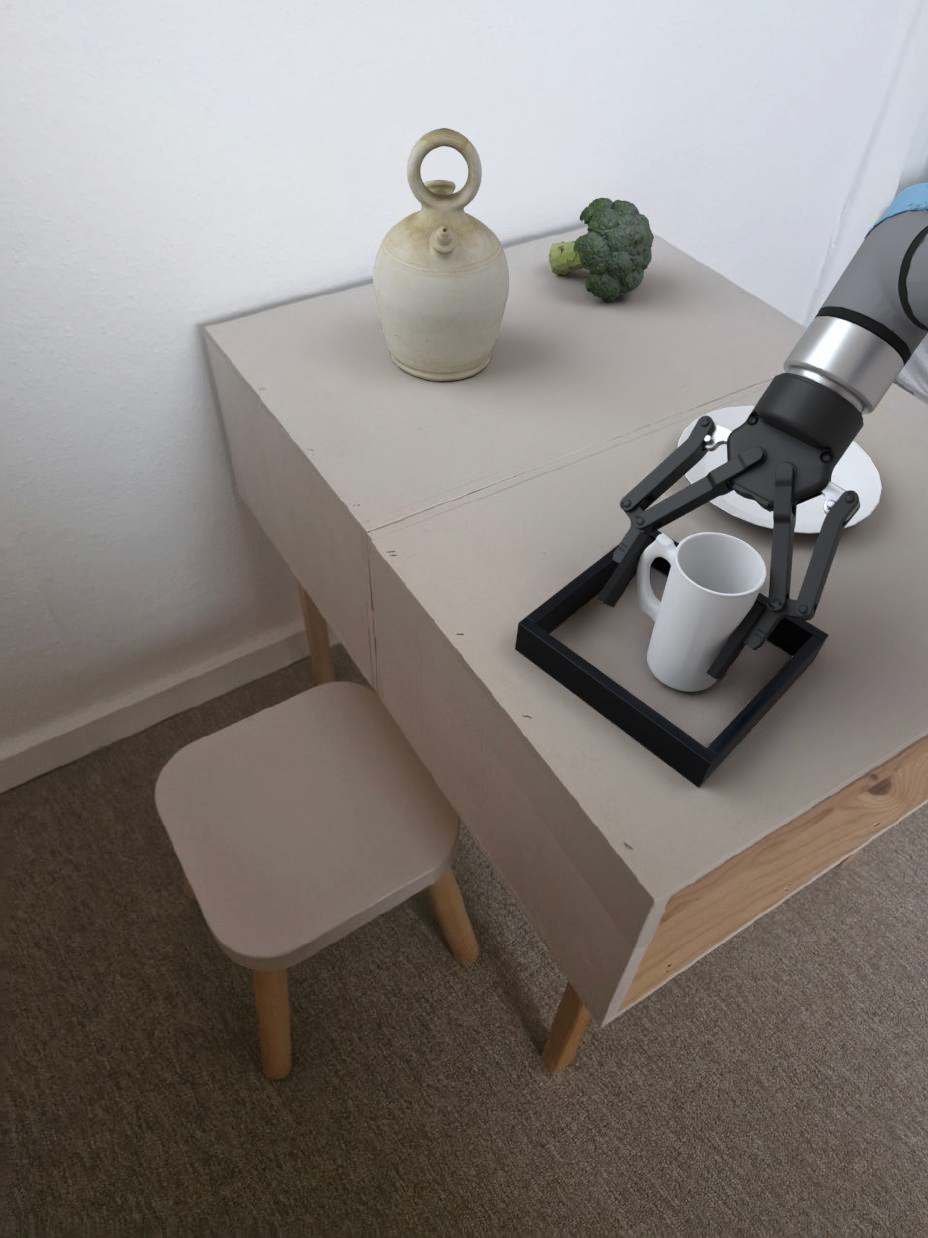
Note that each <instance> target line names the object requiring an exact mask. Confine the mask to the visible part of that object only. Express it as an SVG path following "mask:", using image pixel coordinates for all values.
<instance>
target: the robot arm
mask: <svg viewBox="0 0 928 1238" xmlns="http://www.w3.org/2000/svg"><path fill="white" fill-rule="evenodd" d="M927 335H928V182H920V183H916V184H912V185H910V186H908V187H906V188H905V189H903V190H902V191H900V192H899V193H898V194H897V195H896V196H895V197H894V198H893V200H892V202H891V203H890V204H889V206H888V207H887V208H886V210H884V213H883V214H882V216H881V217H880V218H879V219H877V221H876V222H874V224H873V226H872V227H870V229H868V231H867V233H866V234H865V236H864V239H863V241H862V243H861V244H860V246H859V247H858V249H857V250H856V252H855V254H854V255H853V256H852V258H851V260H850V261H849V263H848V264H847V266H846V267H845V269H844V271H843V272H842V274H841V275H840V277H839V279H838V280H837V281H836V283H835V285H834V286H833V287H832V289H831V291H830V292H829V294H828V296H827V297H826V299H825V300H824V301H823V303H822V305H821V306H820V308H819V310H818V312H817V313H816V315H815V316H814V318H813V319H812V320H811V321H810V322H809V325H808V326H807V327H806V329H805V331H804V332H803V334H802V335H801V336H800V338H799V339H798V341H797V342H796V343H795V346H794V347H793V349H792V350H791V351H790V353H789V354H788V356H787V357H786V359H785V360H784V362H783V363H782V365H783V369H784V372H781V373H779V374H776V375H775V376H774V377H773V379H772V380H771V382H770V383H769V385H768V386H767V388H766V389H765V390H764V392H763V393H762V395H761V396H760V398H759V400H758V401H757V402H756V404H755V405H754V406H755V407H754V409H753V410H752V412H751V413H750V415H749V417H748V418H747V420H746V421H745V422H744V423H743V424H742V425H741V426H739V427H738V428H736V429H734V430H730V429H728V428H726V427H723V426H721V425H719V424H716V423H714V421H713V420H712V418H711V417H710V416H703V415H701V416H702V417H701V416H700V417H701V418H700V419H699V420H698V421H697V423H696V425H695V427H694V428H693V430H692V432H691V434H690V436H689V437H688V439H687V440H686V441H685V442H684V443H683V444H681V445H680V446H679V447H678V446H677V448H676V449H674V450H673V452H671V453H670V454H669V455H668V456H667V457H666V458H665V459H664V460H663V461H662V462H660V463H659V464H658V465H657V466H656V467H655V468H654V469H653V470H651V472H649V474H648V475H646V476H645V477H644V478H643V479H642V480H641V481H640V482H638V483H637V485H635V486H634V487H633V488H632V489H631V490H630V491H629V492H628V493H627V494H626V495H625V496H624V497H622V498H621V500H620V502H619V507H620V509H621V510H622V511H623V512H624V513H625V514H626V516H627V517H628V518H629V521H630V526H629V528H628V530H627V532H626V533H625V535H624V536H623V538H622V539H621V541H620V543H618V544H619V546H618V547H617V549H616V550H615V552H614V554H613V558H612V560H614V561H616V562H617V563H619V565H618V567H617V568H616V570H615V571H614V573H613V574H612V576H611V577H610V579H609V580H608V582H607V583H606V585H605V586H604V588H603V589H602V591H601V592H600V593H599V594H598V595H597V596H596V600H597V601H599V602H600V603H601V604H603V605H606V606H608V607H611V608H615V606H616V605H617V604H618V602H619V600H620V599H621V597H622V596H623V595H624V593H625V591H626V590H627V588H628V587H629V585H630V584H631V582H632V581H633V579H634V578H635V576H636V572H637V565H638V561H639V558H640V556H641V554H642V553H643V551H644V550H645V549H646V548H647V547H648V546H649V545H650V544H652V543H653V542H654V541H655V540H653V539H652V538H650V537H649V536H652V535H654V534H653V532H655V531H656V530H658V531H659V530H660V529H662V528H664V527H666V526H667V525H669V524H671V523H673V522H675V521H677V520H679V519H680V518H682V517H683V516H686V515H687V514H689V513H691V512H693V511H695V510H697V509H698V508H700V507H702V506H704V505H706V504H707V503H710V502H709V501H711V500H713V499H715V498H716V497H718V496H722V495H725V494H728V493H729V492H731V491H733V490H734V491H735V492H736V493H737V494H738V495H740V496H742V497H744V498H746V499H750V500H754V501H756V502H757V503H758V504H759V505H760V506H761V507H762V508H764V509H765V510H767V511H769V512H771V511H773V521H774V524H773V529H772V541H771V552H770V553H771V555H770V569H769V582H768V602H767V606H766V607H764V606H762V605H760V604H759V603H757V602H755V603H754V605H753V606H752V608H751V609H750V611H749V612H748V613H747V615H746V616H745V618H744V619H743V621H742V622H741V623H740V625H739V626H738V628H737V629H736V631H735V632H734V634H733V635H732V636H731V638H730V639H729V641H728V642H727V644H726V645H725V646H724V648H723V649H722V651H721V652H720V654H719V655H718V657H717V658H716V659H715V661H714V662H713V664H712V665H711V667H710V668H709V670H708V671H707V672H706V673H707V674H708V675H710V676H711V677H713V678H714V679H717V680H720V681H722V680H723V679H724V677H725V675H726V674H727V673H728V672H729V670H730V668H731V667H732V666H733V664H734V663H735V661H736V660H737V658H738V657H739V656H740V654H741V652H743V650H744V649H745V647H746V646H747V647H748V648H750V649H751V650H753V651H755V652H756V651H758V650H759V649H761V648H762V647H763V645H765V643H766V641H768V640H767V638H768V637H769V636H770V634H771V633H772V631H773V630H774V628H775V627H776V626H777V624H778V623H779V621H780V620H781V619H783V618H785V617H793V618H798V619H802V620H805V621H807V622H809V621H812V619H814V617H815V615H816V612H817V610H818V606H819V603H820V601H821V598H822V595H823V592H824V589H825V586H826V583H827V580H828V577H829V575H830V571H831V569H832V565H833V562H834V559H835V557H836V553H837V550H838V547H839V544H840V541H841V538H842V535H843V532H844V529H845V528H844V527H845V526H846V525H847V524H848V522H849V521H850V520H851V519H852V517H853V516H854V515H855V514H856V513H857V511H858V510H859V508H860V501H859V496H858V494H857V493H856V492H855V491H852V490H848V491H846V490H844V489H843V488H841V487H839V486H838V485H836V484H834V483H833V482H831V476H832V472H833V469H834V468H835V466H836V465H837V463H838V462H839V460H840V459H841V457H842V456H843V454H844V453H845V452H846V450H847V449H848V447H849V446H850V444H851V443H852V441H855V439H856V437H857V436H858V434H859V433H860V431H861V430H862V428H863V427H864V425H865V424H864V417H863V415H870V414H872V413H873V412H874V411H875V409H876V408H877V407H878V405H880V402H881V401H882V399H883V398H884V397H885V395H886V393H887V392H888V391H889V389H890V388H891V386H892V385H893V383H894V382H895V381H896V379H897V378H898V376H899V375H900V373H901V372H902V371H903V370H904V367H905V366H906V365H907V363H908V362H909V360H910V359H911V357H912V355H913V354H914V353H915V351H916V350H917V349H918V347H919V346H920V345H921V343H922V342H923V341H924V339H925V338H926V337H927ZM723 444H727V462H726V463H724V464H722V465H721V466H719V467H717V468H715V469H714V470H712V471H710V472H709V473H708V474H707V476H705V477H704V478H702V479H700V480H698V481H697V482H695V483H693V484H691V483H690V484H689V485H688V486H686V487H684V488H682V489H680V490H679V491H677V492H675V493H673V494H672V495H670V496H668V497H666V498H665V499H663V500H661V501H659V502H657V503H655V502H656V501H657V500H658V499H659V498H661V497H662V496H663V495H664V494H665V493H666V492H667V491H669V489H671V487H673V486H674V485H675V484H676V483H677V482H678V481H679V480H680V479H682V478H683V477H684V476H685V474H686V473H687V472H688V471H689V470H690V469H691V468H693V467H694V466H695V465H696V464H697V463H698V462H699V461H700V460H701V459H702V458H703V457H704V456H705V455H706V453H707V452H708V451H715V450H716V449H717V448H718V447H719V446H721V445H723ZM820 495H824V496H825V502H824V504H823V509H824V512H825V513H826V514H827V515H826V517H825V519H824V522H823V524H822V527H821V530H820V533H818V536H817V539H816V542H815V545H814V548H813V550H812V554H811V557H810V560H809V563H808V566H807V569H806V572H805V576H804V579H803V580H802V581H803V582H802V584H801V587H800V590H799V593H798V596H797V599H793V598H791V586H792V585H791V583H792V572H793V571H792V570H793V554H794V542H795V541H794V540H795V533H794V529H795V524H796V510H797V505H798V504H800V503H803V502H805V501H808V500H810V499H813V498H815V497H817V496H820ZM654 503H655V504H654ZM651 505H652V506H651Z"/></svg>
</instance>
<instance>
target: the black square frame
mask: <svg viewBox="0 0 928 1238" xmlns="http://www.w3.org/2000/svg"><path fill="white" fill-rule="evenodd" d="M662 533H663V532H661V531H660V530H659V529H658V530H656V531H655V532H653V534H654V535H652V536H649V537H650V538H652V539H653V540H656V538H657V536H658V535H660V534H662ZM668 537H669V536H668ZM669 538H670V539H672V540H673V542H674V545H675V546H676V547H677V546H678V545H679V543H680V542H678V541H676V540H674V539H673V538H671V537H669ZM619 544H620V543H618V544H617V545H616V546H614V547H613V548H612V549H611V550H609V551H608V552H607V553H606V554H605V555H603V556H601V558H599V559H597V561H595V562H594V563H593V564H591V565H590V566H589V567H587V568H586V569H585V570H584V571H583V572H582V573H579V575H577V576H576V577H575V578H574V579H572V580H571V581H569V582H568V583H567V584H566V585H564V586H563V587H562V588H561V589H559V591H557V592H556V593H554V594H553V595H551V597H549V598H548V599H547V600H545V601H543V603H542V604H540V605H539V606H538V607H536V608H535V609H534V610H533V611H531V612H530V613H529V614H527V616H525V617H524V618H523V619H521V620H520V621H519V622H517V623H518V624H517V630H516V638H515V645H514V650H515V651H517V652H518V653H519V654H521V655H522V656H523V657H524V658H526V659H527V660H529V661H530V662H531V663H533V664H534V665H535V666H536V667H538V668H539V669H540V670H542V671H543V672H545V673H546V674H547V675H548V676H549V677H551V678H552V679H554V680H555V681H556V682H557V683H559V684H560V685H561V686H563V687H564V688H565V689H567V690H568V691H570V693H573V694H574V695H575V696H576V697H577V698H579V699H580V700H581V701H583V702H584V703H586V704H587V705H588V706H590V707H591V708H592V709H593V710H595V711H596V712H597V713H599V714H600V715H601V716H602V717H604V718H605V719H606V720H608V721H610V722H611V723H612V724H613V725H615V726H616V727H617V728H618V729H620V730H621V731H622V732H624V733H625V734H627V735H628V736H629V737H630V738H632V739H633V740H634V741H636V742H637V743H638V744H639V745H641V746H643V747H644V748H645V749H646V750H647V751H649V752H650V753H652V754H653V755H654V756H656V757H657V758H659V759H660V760H661V761H663V762H664V763H665V764H666V765H668V767H670V768H671V769H673V770H675V771H676V772H677V773H678V774H679V775H681V776H682V777H684V778H685V779H686V780H688V781H689V782H690V783H692V785H694V786H696V788H700V787H701V786H702V785H703V784H704V783H705V782H706V781H707V780H708V779H709V778H710V776H711V775H712V774H713V773H714V772H715V771H716V770H717V769H718V768H719V766H720V765H722V763H723V762H724V761H725V760H726V759H727V758H728V757H729V755H730V754H732V752H734V749H736V748H737V747H738V746H739V744H740V743H741V742H742V741H743V740H744V739H745V738H746V737H747V736H748V734H750V732H751V731H753V729H754V728H755V727H756V725H758V723H760V721H761V720H762V719H763V718H764V717H765V716H766V715H767V713H769V711H770V710H771V709H772V708H773V707H774V706H775V705H776V704H777V703H778V701H779V700H780V699H781V698H782V697H783V696H784V695H785V694H786V693H787V691H788V690H789V689H790V688H791V687H792V686H793V685H794V684H795V682H797V681H798V680H799V678H800V677H801V676H802V675H803V674H804V672H805V671H806V670H807V669H808V668H809V667H810V666H811V665H812V664H813V663H814V662H815V661H816V659H817V657H818V655H819V653H820V651H821V650H822V648H823V647H824V644H825V643H826V642H827V639H828V638H829V634H828V633H827V632H825V631H823V630H822V629H820V628H818V627H817V626H816V625H814V624H812V623H810V622H809V621H806V620H802V619H798V618H793V617H785V618H783V619H781V620H780V621H779V623H778V624H777V626H776V627H775V628H774V630H773V631H772V633H771V634H770V636H769V637H768V638H767V640H766V641H767V642H769V643H771V644H772V645H774V646H776V648H779V649H780V650H781V651H783V652H785V653H787V654H788V655H789V656H791V657H790V658H789V659H788V660H787V662H785V664H783V665H782V667H781V668H780V669H779V670H778V671H777V672H776V673H775V674H774V675H773V677H772V678H771V679H769V681H768V682H767V683H766V684H765V685H764V686H763V687H762V688H761V690H759V692H757V694H755V696H754V697H753V698H752V699H751V700H750V701H749V702H748V703H747V704H746V705H745V707H744V708H743V709H742V710H741V711H740V712H739V713H738V714H737V715H736V716H735V717H734V718H733V719H732V721H730V722H729V724H728V725H726V727H725V728H724V729H723V730H722V731H721V732H720V733H719V734H718V735H717V736H716V737H715V739H714V740H713V741H712V742H711V743H710V744H709V745H708V746H707V747H705V746H704V745H703V744H702V743H700V742H699V741H697V740H696V739H695V738H693V736H690V734H688V733H686V732H685V731H684V730H682V729H681V728H679V727H678V726H677V725H676V724H674V723H672V722H671V721H670V720H668V718H666V717H665V716H663V715H662V714H661V713H659V712H658V711H656V710H655V709H654V708H652V707H651V706H649V705H648V704H646V702H643V701H642V700H641V699H640V698H639V697H637V696H635V695H634V694H633V693H631V692H630V691H629V690H628V689H626V688H625V687H623V686H622V685H620V684H619V683H618V682H616V681H615V680H614V679H613V678H611V677H610V676H608V675H607V674H605V673H604V672H603V671H601V670H600V669H599V668H597V667H596V666H595V665H593V664H591V663H590V662H589V661H588V660H586V659H585V658H584V657H582V656H581V655H579V654H578V653H577V652H575V651H573V649H571V648H569V647H568V646H567V645H565V644H564V643H563V642H562V641H560V640H558V639H557V638H556V637H554V636H553V635H552V634H551V633H552V632H553V631H555V630H556V629H557V628H559V627H560V626H561V625H562V624H563V623H565V622H566V621H567V620H568V619H570V618H571V617H572V616H573V615H574V614H576V613H577V612H579V610H581V609H582V608H583V607H584V606H586V605H587V604H588V603H589V602H590V601H592V600H593V599H595V598H596V597H598V596H599V594H600V593H601V591H602V589H603V588H604V586H605V585H606V583H607V582H608V580H609V579H610V577H611V576H612V574H613V573H614V571H615V570H616V568H617V567H618V565H619V563H617V562H616V561H614V560H612V558H613V554H614V552H615V550H616V549H617V547H618V546H619ZM651 567H652V568H653V569H654V570H656V571H658V572H659V573H661V574H662V575H663V576H666V577H667V578H668V575H669V572H670V568H671V565H670V563H669V562H668V561H667V560H666V559H665V558H662V557H656V558H655V559H654V560H653V562H652V563H651V566H650V568H651ZM755 602H757V603H759V604H760V605H762V606H764V607H766V606H767V602H768V597H767V596H766V595H764V594H763V593H762V592H759V594H758V596H757V598H756V600H755Z"/></svg>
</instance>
